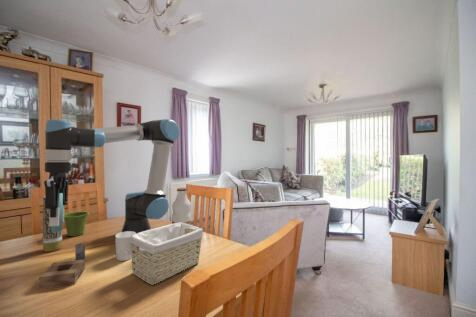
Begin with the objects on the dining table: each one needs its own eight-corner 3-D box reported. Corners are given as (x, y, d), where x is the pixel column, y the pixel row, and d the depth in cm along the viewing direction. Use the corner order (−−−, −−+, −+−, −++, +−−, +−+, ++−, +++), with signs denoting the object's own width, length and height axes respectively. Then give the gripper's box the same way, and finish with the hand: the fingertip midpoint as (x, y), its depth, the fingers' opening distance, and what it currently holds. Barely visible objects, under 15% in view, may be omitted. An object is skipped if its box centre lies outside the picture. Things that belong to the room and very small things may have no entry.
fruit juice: (185, 248, 105) (186, 190, 105) (167, 246, 107) (168, 189, 107) (193, 241, 115) (194, 187, 114) (176, 239, 117) (177, 186, 116)
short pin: (85, 259, 93) (86, 242, 93) (83, 262, 90) (83, 245, 90) (77, 260, 92) (77, 243, 92) (74, 263, 89) (74, 246, 89)
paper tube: (51, 253, 98) (51, 197, 98) (38, 251, 100) (39, 196, 99) (65, 247, 105) (66, 194, 105) (54, 245, 106) (54, 193, 106)
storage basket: (179, 252, 102) (179, 220, 101) (204, 263, 92) (204, 227, 92) (127, 274, 83) (127, 234, 82) (151, 290, 73) (152, 246, 73)
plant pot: (93, 233, 123) (93, 213, 123) (67, 240, 113) (67, 218, 113) (83, 229, 129) (83, 210, 129) (58, 235, 119) (58, 214, 119)
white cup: (114, 263, 90) (115, 238, 90) (115, 255, 97) (115, 232, 97) (135, 259, 94) (136, 235, 94) (135, 252, 101) (135, 230, 101)
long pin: (63, 229, 85) (64, 192, 85) (59, 232, 82) (60, 194, 82) (53, 229, 84) (54, 192, 84) (49, 232, 81) (49, 194, 81)
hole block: (84, 269, 85) (84, 259, 85) (74, 284, 75) (75, 272, 75) (53, 273, 82) (53, 262, 82) (38, 289, 72) (38, 277, 72)
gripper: (57, 160, 89) (56, 218, 90) (32, 161, 74) (31, 232, 74) (78, 161, 92) (77, 217, 92) (59, 162, 76) (57, 230, 76)
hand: (56, 224), depth 83 cm, fingers closed on long pin, 3 cm apart
